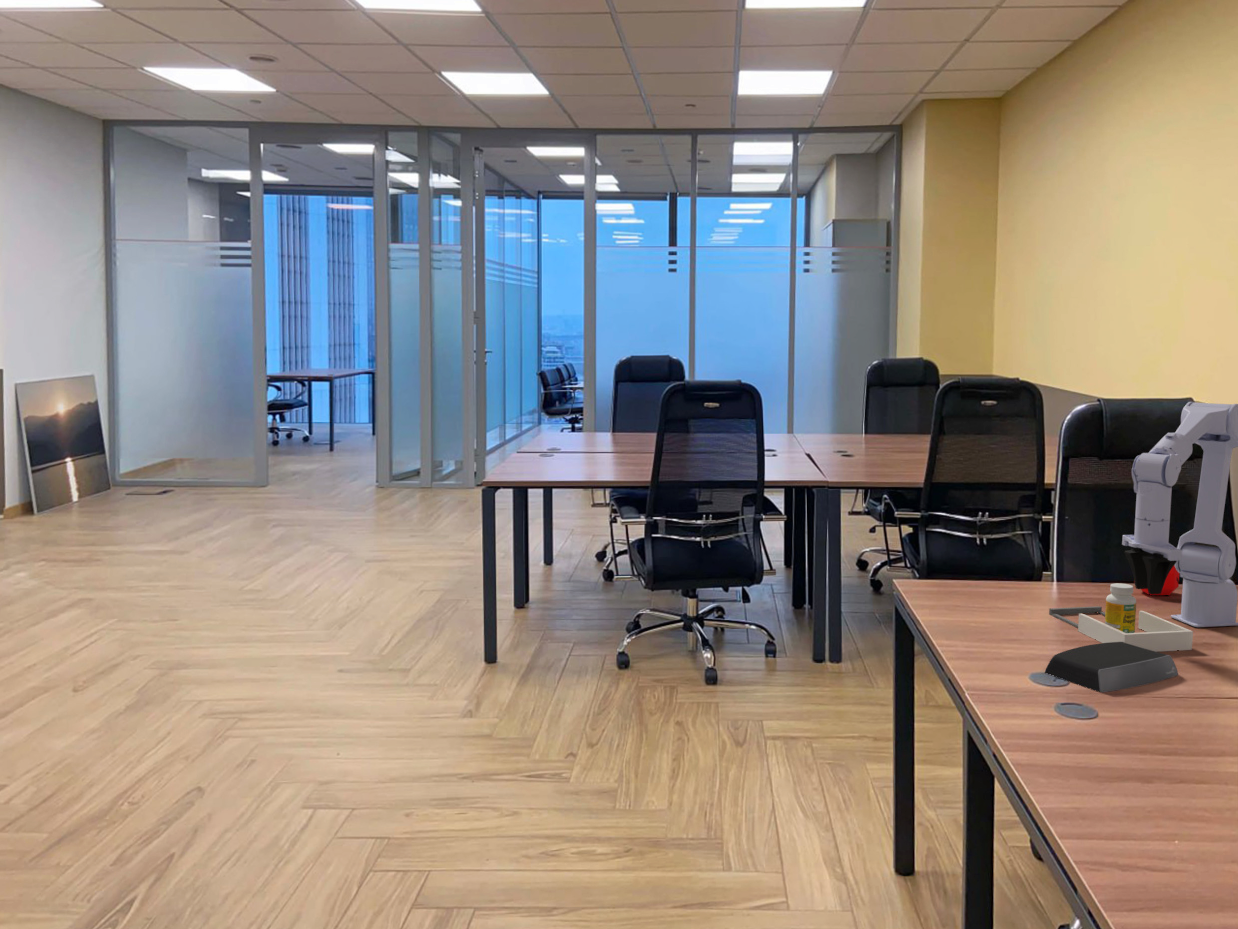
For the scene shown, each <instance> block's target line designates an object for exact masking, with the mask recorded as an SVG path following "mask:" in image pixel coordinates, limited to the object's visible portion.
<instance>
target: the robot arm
mask: <svg viewBox="0 0 1238 929" xmlns="http://www.w3.org/2000/svg"><path fill="white" fill-rule="evenodd" d="M1193 444H1196V445H1197V446H1200V447H1201V449H1202V450H1203V454H1202V461H1201V470H1200V477H1199V478H1200V479H1199V485H1198V492H1197V493H1198V494H1197V501H1196V509H1195V517H1194V523H1193V529H1190V530H1189V531H1187V532H1185V533H1183V534H1182V535H1181V536H1179V540H1178V544H1177V546H1176V547H1175V546H1174V545H1173V544H1171V543H1170V542H1169V538H1170V523H1171V508H1172V506H1171V505H1172V490H1173V488H1172V487H1173V486H1174V485H1176V483H1177V482H1178V479H1179V475H1180V473H1181V472H1182V471H1181V470H1182V466H1183V464H1184V463H1185V462H1186V461H1187V460H1188V459H1189V458H1190V457H1191V455H1192V454H1193V450H1194V449H1193V447H1194V446H1193ZM1236 448H1238V403H1231V404H1230V403H1214V402H1213V403H1208V402H1194V401H1188V402H1187V403H1186V404H1185V406H1183V408H1182V410H1181V415H1180V425H1179V426H1178V427H1177V429H1176V431H1175V432H1167V433H1166V434H1165V435H1164V436H1163V437H1162V438H1161V439H1160V440H1159V441H1158V442H1157V443H1156V444H1154V446H1153V447H1152V448H1151V449H1150V450H1149V452H1142V453H1141V454H1139V455H1137V456H1136V457H1135V458H1134V460H1133V463H1132V468H1131V478H1132V481H1133V492H1134V493H1135V494H1136V499H1135V500H1136V501H1135V514H1134V515H1135V518H1134V534H1122V541H1121V545H1122V546H1125V547H1131V548H1130V549H1128V550H1124V555H1125V558H1126V559H1127V561H1128V564H1129V566H1130V569H1131V573H1132V576H1133V583H1134V582H1135V583H1134V586H1135V589H1136V590H1141V589H1148V592H1149V594H1161V592H1162V589H1163V586H1164V583H1165V580H1166V578H1167V576H1168V574H1169V572H1170V570H1171V569H1172V567H1173V566H1175V568H1176V570H1177V571H1178V572H1179V578H1182V591H1181V606H1180V614H1171V615H1170V618H1171V619H1175V620H1177V621H1179V622H1182V623H1184V624H1186V625H1190V626H1192V627H1195V628H1209V627H1211V628H1212V627H1227V626H1228V627H1229V626H1231V627H1232V626H1238V622H1237V621H1236V619H1237V609H1238V589H1237V586H1236V584H1235V582H1234V581H1233V580H1231V578H1232V576H1233V575H1234V573H1235V569H1236V565H1237V558H1236V544H1235V542H1234V540H1232V539H1231V538H1230V537H1229V536H1227V534H1226V533H1224V532H1223V530H1222V529H1223V520H1224V514H1225V513H1224V512H1225V504H1226V499H1227V492H1228V482H1229V476H1230V469H1231V459H1232V454H1233V450H1234V449H1236ZM1195 543H1198V544H1195ZM1202 544H1206V545H1202ZM1207 545H1208V546H1207ZM1209 545H1212V546H1209ZM1213 545H1214V546H1213ZM1216 546H1217V547H1216ZM1149 594H1148V595H1149Z"/></svg>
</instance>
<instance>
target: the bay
mask: <svg viewBox="0 0 1238 929" xmlns="http://www.w3.org/2000/svg"><path fill="white" fill-rule="evenodd" d="M1077 624H1078V628H1077V632H1080V633H1081V634H1083V635H1085V636H1087V637H1089V638H1090V639H1091V638H1092V639H1093V640H1095V639H1096V642H1097V641H1098V642H1099V643H1110V642H1124V643H1127V644H1131V645H1134V646H1138V647H1141V648H1144V649H1148V650H1152V651H1155V652H1158V653H1161V652H1175V651H1176V652H1177V650H1179V651H1193V639H1194V638H1193V636H1194V631H1193V630H1190V629H1188V628H1186V627H1183V626H1181V625H1179V624H1176V623H1174V622H1172V621H1168V620H1166V619H1164V618H1161V617H1160V616H1157V615H1154V614H1152V613H1149V612H1147V611H1146V610H1145V611H1144V610H1139V611H1138V623H1137V625H1138V627H1137V628H1138V629H1140V630H1141V629H1142V631H1143V630H1144V631H1143V632H1135V633H1124V632H1122V631H1120V630H1118V629H1116V628H1113V627H1111V626H1109V625H1107V624H1105V622H1103V621H1100V620H1098V619H1095V618H1093V617H1091V616H1089V615H1087V614H1078V623H1077Z"/></svg>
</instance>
